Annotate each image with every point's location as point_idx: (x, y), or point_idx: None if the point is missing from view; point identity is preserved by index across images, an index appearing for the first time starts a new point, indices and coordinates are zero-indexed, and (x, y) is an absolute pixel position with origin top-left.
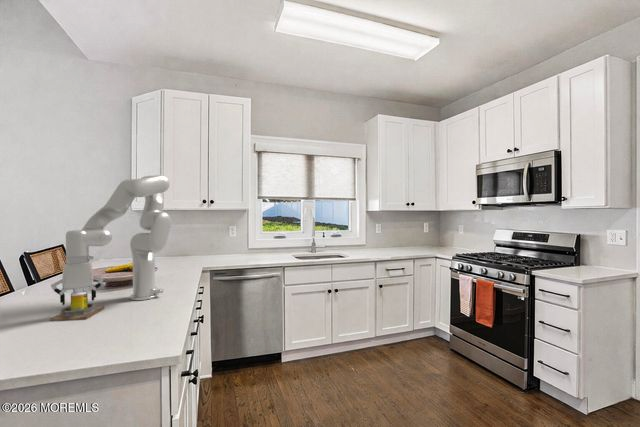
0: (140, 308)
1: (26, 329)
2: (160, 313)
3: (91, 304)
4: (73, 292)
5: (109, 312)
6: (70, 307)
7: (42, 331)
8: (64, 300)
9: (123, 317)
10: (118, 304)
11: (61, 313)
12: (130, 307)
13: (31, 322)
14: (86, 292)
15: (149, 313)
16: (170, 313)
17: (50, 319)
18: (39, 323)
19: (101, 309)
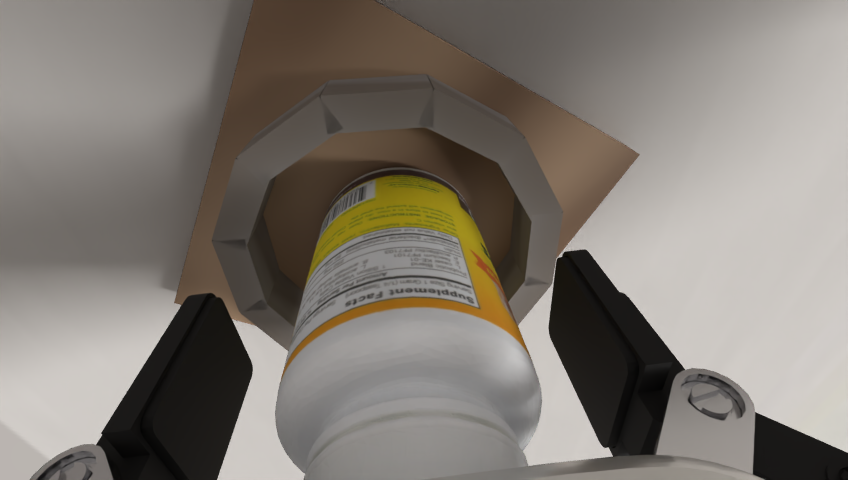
0: (828, 293)
1: (97, 393)
2: (812, 431)
3: (528, 208)
4: (315, 441)
5: (621, 282)
6: (289, 162)
7: (234, 452)
8: (233, 416)
9: None
10: (820, 5)
11: (218, 181)
12: (807, 224)
13: (5, 246)
14: (523, 445)
15: (780, 410)
16: (839, 447)
17: (180, 297)
18: (116, 307)
19: (592, 202)
